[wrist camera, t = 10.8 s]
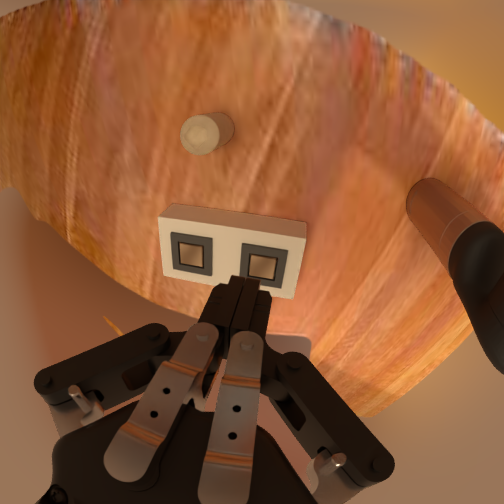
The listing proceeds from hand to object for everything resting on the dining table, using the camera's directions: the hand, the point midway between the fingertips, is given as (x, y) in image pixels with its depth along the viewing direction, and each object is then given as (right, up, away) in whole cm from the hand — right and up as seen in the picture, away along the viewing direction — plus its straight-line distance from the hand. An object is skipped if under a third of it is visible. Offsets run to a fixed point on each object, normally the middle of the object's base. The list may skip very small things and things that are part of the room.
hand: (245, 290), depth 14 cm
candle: (-5, +21, +26) cm, 34 cm away
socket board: (-3, +4, +36) cm, 36 cm away
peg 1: (-9, +5, +37) cm, 38 cm away
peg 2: (+3, +3, +36) cm, 36 cm away
